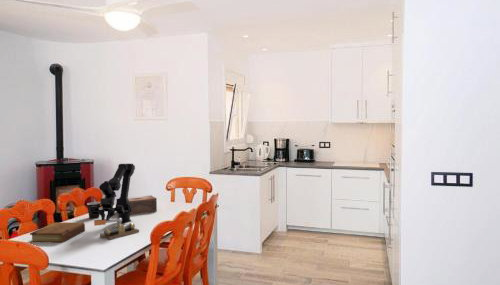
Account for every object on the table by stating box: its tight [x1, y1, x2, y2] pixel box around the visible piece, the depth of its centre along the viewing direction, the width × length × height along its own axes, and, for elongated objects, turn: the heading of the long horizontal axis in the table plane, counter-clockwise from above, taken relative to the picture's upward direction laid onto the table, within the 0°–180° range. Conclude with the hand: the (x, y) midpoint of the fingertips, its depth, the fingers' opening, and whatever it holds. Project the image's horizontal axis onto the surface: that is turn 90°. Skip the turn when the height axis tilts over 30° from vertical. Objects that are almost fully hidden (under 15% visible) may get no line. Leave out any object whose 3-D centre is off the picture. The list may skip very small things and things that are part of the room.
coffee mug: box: [86, 201, 101, 220], centre depth 258 cm, size 12×9×10 cm
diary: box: [29, 222, 86, 244], centre depth 214 cm, size 23×19×6 cm
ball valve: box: [99, 222, 140, 240], centre depth 216 cm, size 19×10×7 cm, turn 140°
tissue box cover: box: [116, 195, 158, 216], centre depth 275 cm, size 26×14×10 cm, turn 120°
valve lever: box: [93, 217, 122, 227], centre depth 214 cm, size 3×15×3 cm, turn 114°
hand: (104, 222), depth 214 cm, fingers closed
